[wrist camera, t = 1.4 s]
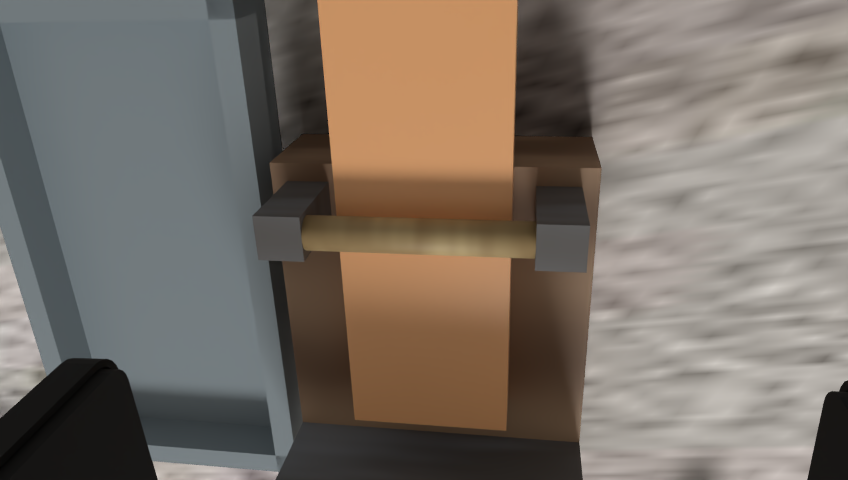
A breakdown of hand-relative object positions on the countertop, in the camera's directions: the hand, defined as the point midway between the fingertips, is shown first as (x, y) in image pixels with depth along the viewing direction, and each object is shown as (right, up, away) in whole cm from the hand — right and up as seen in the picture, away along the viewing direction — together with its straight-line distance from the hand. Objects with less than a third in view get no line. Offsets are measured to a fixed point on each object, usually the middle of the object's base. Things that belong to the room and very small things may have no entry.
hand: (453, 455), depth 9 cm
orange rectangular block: (0, +4, +16) cm, 16 cm away
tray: (-12, +3, +22) cm, 26 cm away
